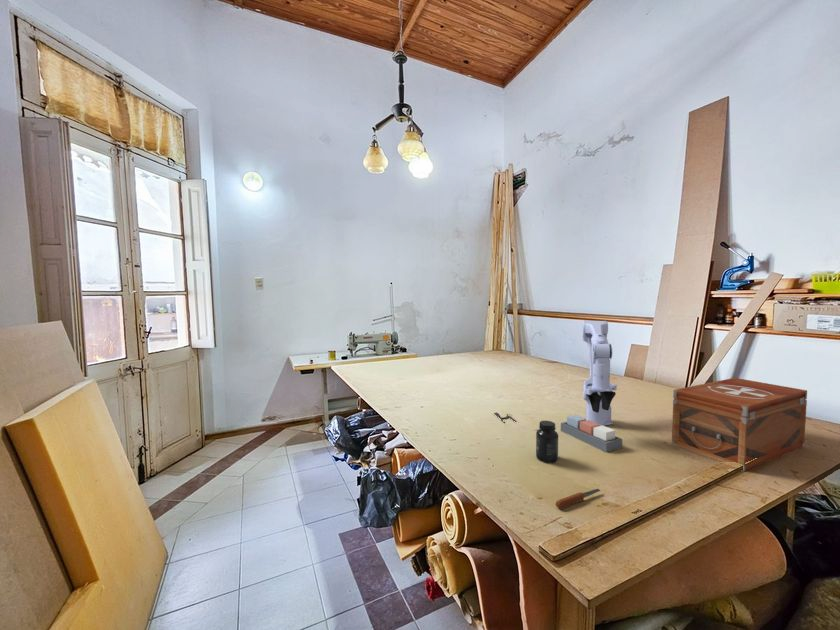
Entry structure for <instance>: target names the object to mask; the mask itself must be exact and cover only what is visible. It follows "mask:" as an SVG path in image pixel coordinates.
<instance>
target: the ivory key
mask: <svg viewBox="0 0 840 630" xmlns="http://www.w3.org/2000/svg"><path fill="white" fill-rule="evenodd" d="M593 436H595V437H598V438H600V439H602V440H605V441H608V440H612V439H615V436H616V430H615V429H612V428H610V427H608V426H603V425H602V426H598V427H594V432H593Z"/></svg>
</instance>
